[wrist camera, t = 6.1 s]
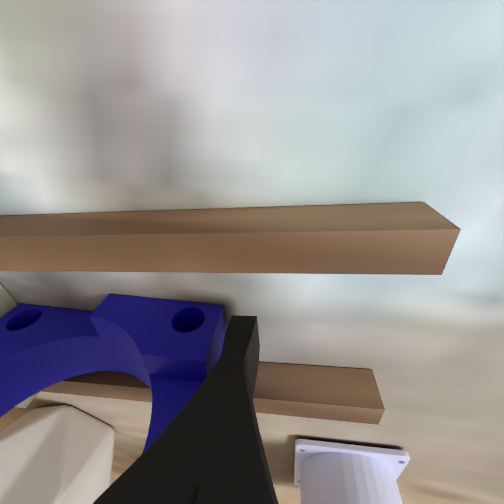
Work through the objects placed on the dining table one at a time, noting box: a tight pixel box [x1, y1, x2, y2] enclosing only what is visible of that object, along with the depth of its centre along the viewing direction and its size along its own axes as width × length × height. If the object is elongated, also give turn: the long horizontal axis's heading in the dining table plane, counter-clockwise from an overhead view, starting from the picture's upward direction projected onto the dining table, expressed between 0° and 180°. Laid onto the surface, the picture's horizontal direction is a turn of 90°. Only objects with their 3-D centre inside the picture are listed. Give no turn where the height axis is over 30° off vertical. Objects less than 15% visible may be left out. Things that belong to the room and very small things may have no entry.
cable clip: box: [0, 294, 225, 453], centre depth 11 cm, size 12×4×6 cm, turn 89°
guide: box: [0, 202, 461, 424], centre depth 11 cm, size 11×22×3 cm, turn 95°
